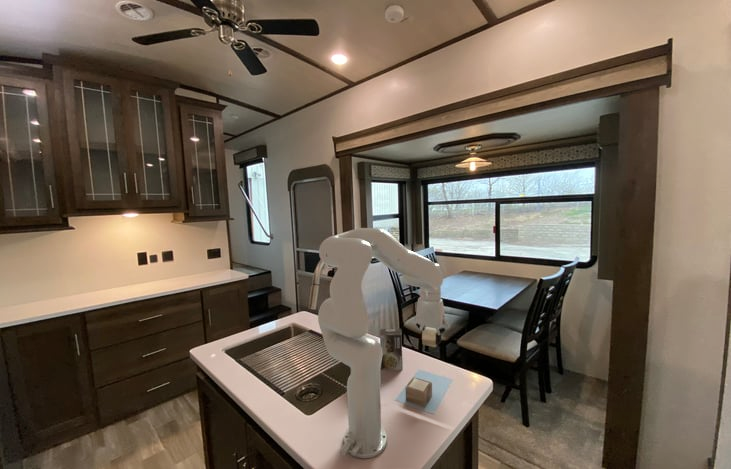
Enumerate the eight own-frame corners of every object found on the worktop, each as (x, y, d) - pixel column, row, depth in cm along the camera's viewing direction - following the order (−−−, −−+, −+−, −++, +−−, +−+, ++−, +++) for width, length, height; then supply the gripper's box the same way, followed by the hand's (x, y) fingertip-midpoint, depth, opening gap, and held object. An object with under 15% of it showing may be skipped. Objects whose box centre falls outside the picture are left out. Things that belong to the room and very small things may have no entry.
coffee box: (402, 364, 124) (401, 328, 122) (402, 372, 117) (401, 334, 116) (381, 363, 125) (380, 328, 123) (380, 372, 118) (379, 334, 117)
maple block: (435, 347, 106) (434, 334, 105) (422, 344, 108) (422, 331, 108) (439, 342, 110) (439, 329, 109) (427, 339, 112) (426, 326, 112)
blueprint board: (433, 417, 92) (433, 399, 91) (394, 402, 99) (394, 386, 99) (452, 381, 110) (452, 366, 110) (418, 371, 118) (418, 357, 117)
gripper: (405, 295, 109) (406, 341, 110) (450, 301, 100) (450, 351, 101) (413, 290, 115) (414, 333, 117) (455, 296, 106) (456, 343, 107)
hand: (430, 341), depth 109 cm, fingers closed on maple block, 5 cm apart
